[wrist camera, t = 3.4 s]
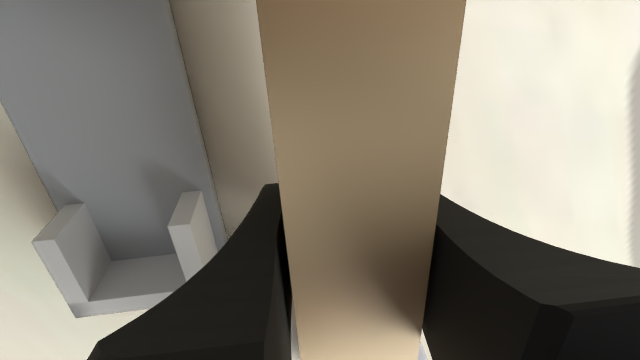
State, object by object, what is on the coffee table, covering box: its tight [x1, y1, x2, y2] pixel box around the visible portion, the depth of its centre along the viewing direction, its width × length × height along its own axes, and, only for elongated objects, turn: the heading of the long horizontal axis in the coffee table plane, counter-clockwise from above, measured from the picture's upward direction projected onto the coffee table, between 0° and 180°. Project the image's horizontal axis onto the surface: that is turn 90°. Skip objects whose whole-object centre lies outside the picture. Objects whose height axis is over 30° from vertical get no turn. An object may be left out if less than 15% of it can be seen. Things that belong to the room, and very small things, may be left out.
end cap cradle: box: [0, 0, 228, 318], centre depth 16 cm, size 24×8×4 cm, turn 4°
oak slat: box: [256, 0, 466, 360], centre depth 11 cm, size 16×3×6 cm, turn 3°
